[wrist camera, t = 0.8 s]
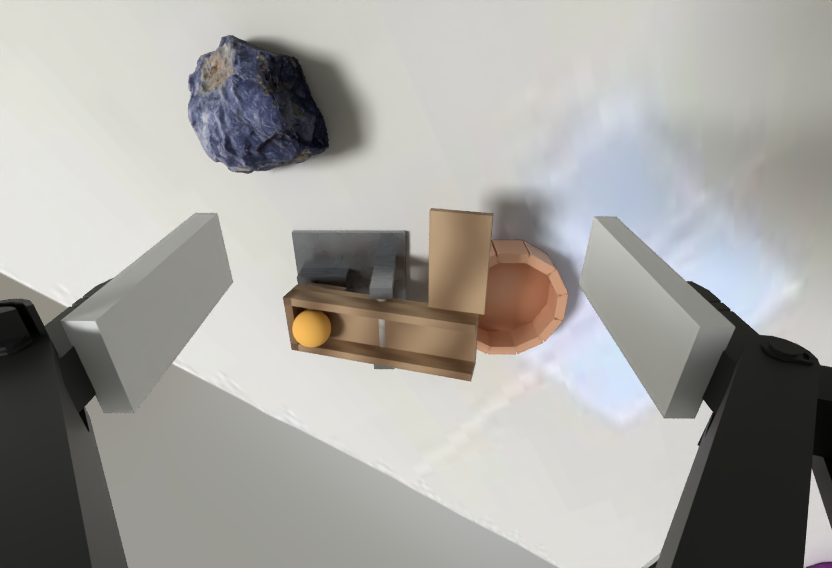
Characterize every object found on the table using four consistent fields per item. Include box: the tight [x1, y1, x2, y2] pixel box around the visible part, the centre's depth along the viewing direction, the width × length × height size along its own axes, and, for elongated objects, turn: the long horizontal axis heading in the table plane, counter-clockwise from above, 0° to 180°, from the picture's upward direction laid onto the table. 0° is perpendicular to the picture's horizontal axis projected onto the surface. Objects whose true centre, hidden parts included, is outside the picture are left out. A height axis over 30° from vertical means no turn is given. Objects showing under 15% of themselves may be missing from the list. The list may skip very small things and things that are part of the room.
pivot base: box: [292, 231, 406, 369], centre depth 45 cm, size 12×14×8 cm
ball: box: [292, 309, 331, 347], centre depth 42 cm, size 4×4×4 cm
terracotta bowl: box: [477, 240, 568, 354], centre depth 47 cm, size 12×12×4 cm
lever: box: [283, 208, 493, 381], centre depth 40 cm, size 18×15×4 cm
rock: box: [188, 35, 329, 174], centre depth 36 cm, size 11×10×10 cm
